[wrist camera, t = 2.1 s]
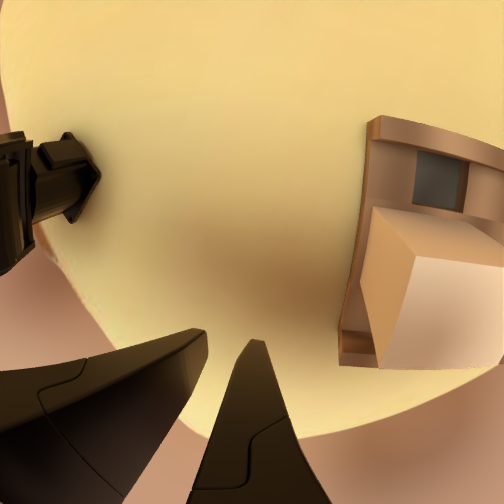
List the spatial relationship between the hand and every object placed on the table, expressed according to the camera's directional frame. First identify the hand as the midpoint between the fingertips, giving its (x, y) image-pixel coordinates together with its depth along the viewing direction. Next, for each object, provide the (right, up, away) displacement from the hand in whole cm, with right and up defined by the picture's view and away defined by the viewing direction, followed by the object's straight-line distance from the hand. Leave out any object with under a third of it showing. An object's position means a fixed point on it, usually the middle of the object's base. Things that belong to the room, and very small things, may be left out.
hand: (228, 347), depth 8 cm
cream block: (+11, +3, +8) cm, 14 cm away
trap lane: (+15, +3, +8) cm, 18 cm away
